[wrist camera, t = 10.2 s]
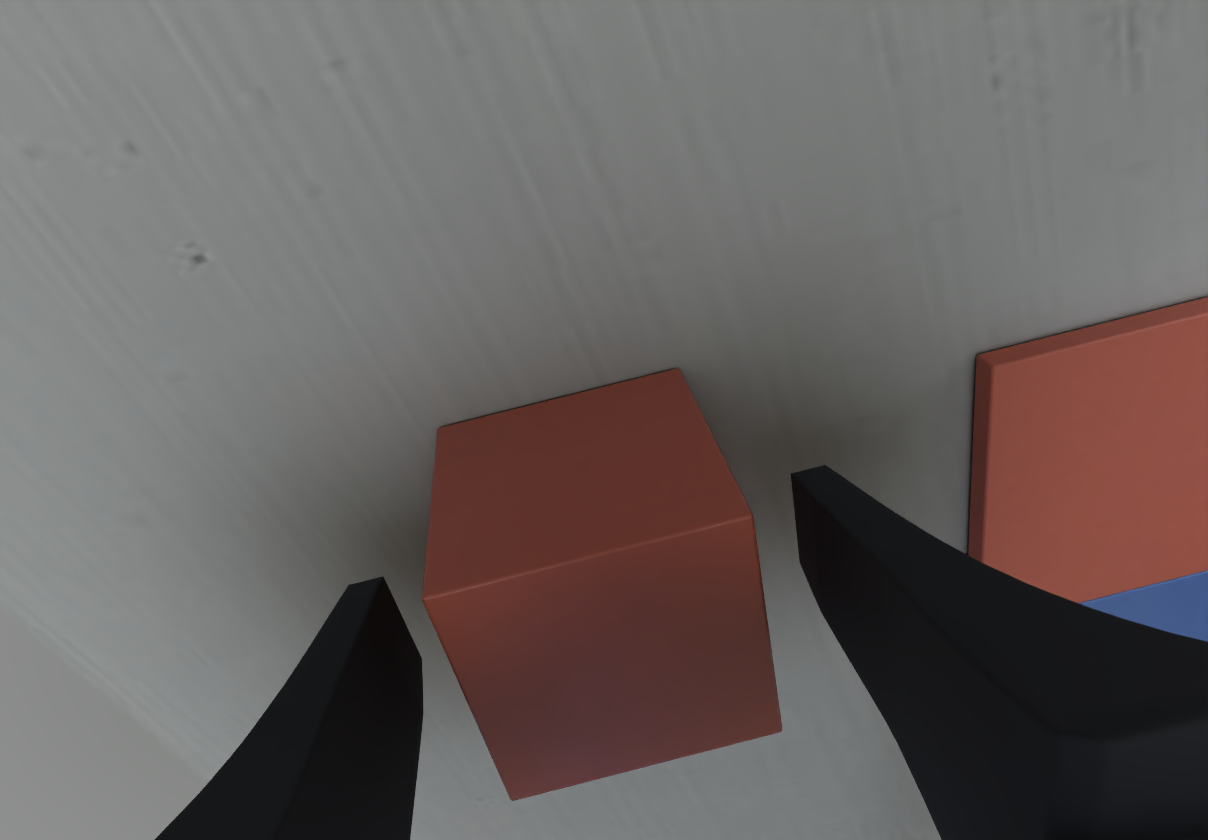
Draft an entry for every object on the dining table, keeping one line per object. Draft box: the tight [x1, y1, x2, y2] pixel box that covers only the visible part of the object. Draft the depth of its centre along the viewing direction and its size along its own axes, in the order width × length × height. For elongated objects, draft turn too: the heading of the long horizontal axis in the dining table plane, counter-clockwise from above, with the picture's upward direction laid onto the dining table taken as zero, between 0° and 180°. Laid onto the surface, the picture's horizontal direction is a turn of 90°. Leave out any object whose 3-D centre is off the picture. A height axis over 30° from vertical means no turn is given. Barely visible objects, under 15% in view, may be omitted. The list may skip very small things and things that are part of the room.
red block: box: [422, 369, 782, 801], centre depth 14 cm, size 5×5×5 cm
